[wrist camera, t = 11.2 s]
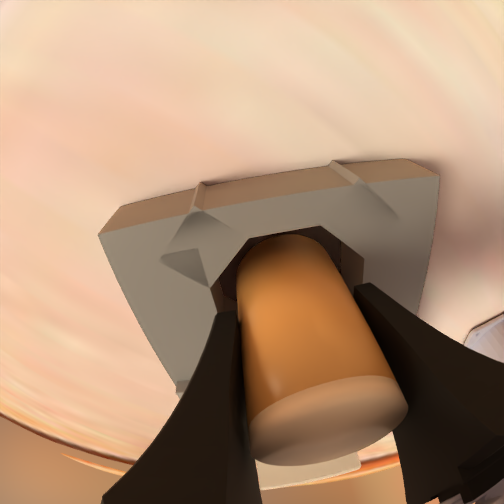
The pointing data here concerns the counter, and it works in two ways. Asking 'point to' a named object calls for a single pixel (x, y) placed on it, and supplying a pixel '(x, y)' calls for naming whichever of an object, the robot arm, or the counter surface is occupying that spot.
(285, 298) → the orange cylinder
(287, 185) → the housing
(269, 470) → the lid
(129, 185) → the counter surface
